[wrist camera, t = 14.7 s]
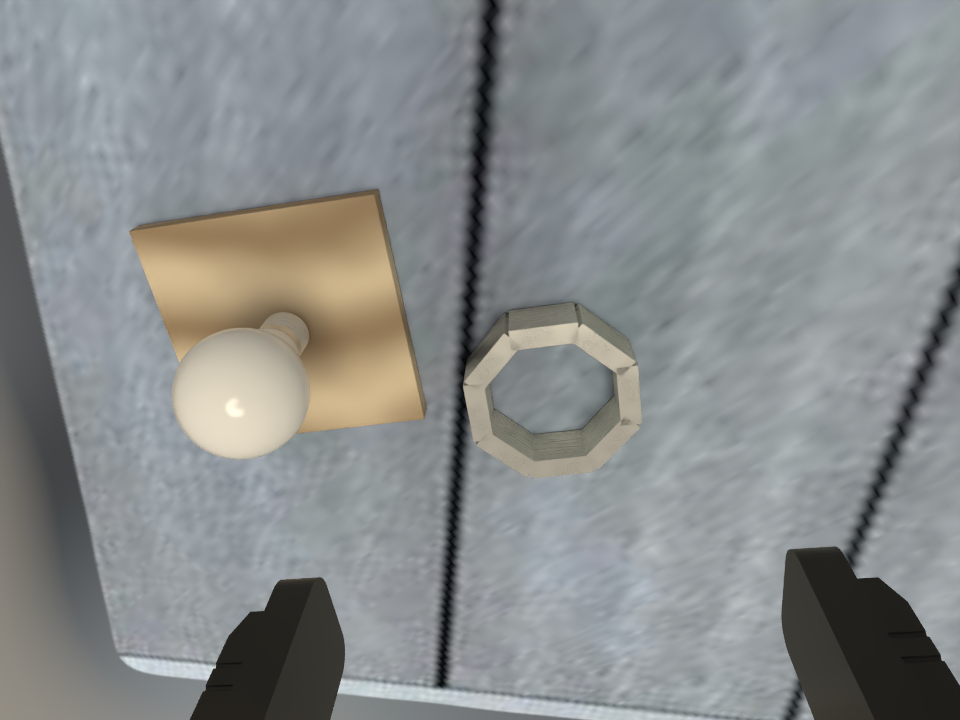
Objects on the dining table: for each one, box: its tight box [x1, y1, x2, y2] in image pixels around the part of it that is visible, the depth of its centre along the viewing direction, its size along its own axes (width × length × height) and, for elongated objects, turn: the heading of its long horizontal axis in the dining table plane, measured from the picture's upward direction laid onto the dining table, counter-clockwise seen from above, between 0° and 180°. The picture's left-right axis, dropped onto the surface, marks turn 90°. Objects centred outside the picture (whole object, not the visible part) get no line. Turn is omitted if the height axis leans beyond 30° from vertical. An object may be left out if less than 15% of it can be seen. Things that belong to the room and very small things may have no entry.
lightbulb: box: [171, 312, 311, 459], centre depth 36 cm, size 6×6×11 cm
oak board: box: [129, 190, 426, 433], centre depth 42 cm, size 14×14×1 cm
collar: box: [463, 302, 642, 478], centre depth 42 cm, size 10×10×3 cm
